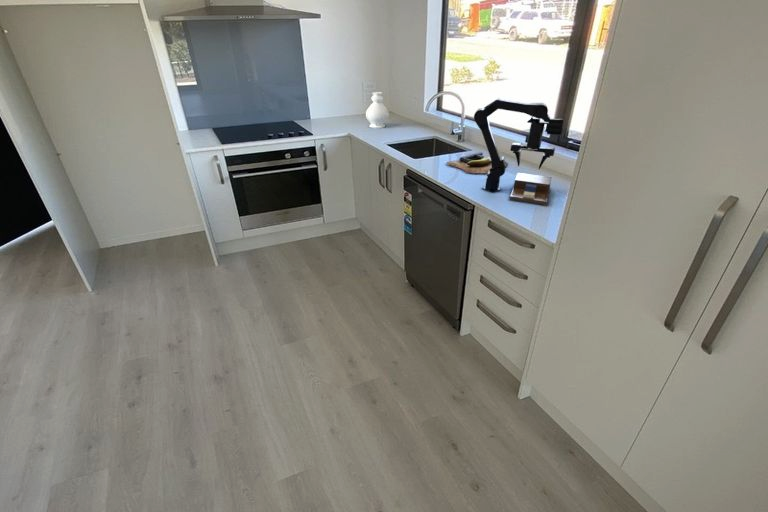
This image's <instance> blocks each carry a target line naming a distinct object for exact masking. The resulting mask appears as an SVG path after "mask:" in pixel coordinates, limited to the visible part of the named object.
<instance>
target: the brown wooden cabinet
mask: <svg viewBox="0 0 768 512" xmlns="http://www.w3.org/2000/svg"><path fill="white" fill-rule="evenodd" d="M526 184H532V185H537V186H536V191H535V195H534V198H527V197H523V195H524V192H525V187H526ZM551 184H552V176H547V175H539V174H531V173H523V172H517V174H516V177H515V179H514V182H513V188H512V191H511V193H510V195H509V201H511V202H519V203H526V204H532V205H537V206H543V207H545V206H547V203H548V197H549V192H550V188H551Z"/></svg>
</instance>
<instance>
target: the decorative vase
mask: <svg viewBox="0 0 768 512" xmlns="http://www.w3.org/2000/svg"><path fill="white" fill-rule="evenodd" d="M370 98H371V101H372V103H371V104H370V105H369V106H368V107H367V108H366V111H365V117H366V119H367V121H368V122H369V123H370V124H369V128H371V129H383V128H385V127H386V125H385V122H386V121H387V120H388V119H389V116H390V115H389V110H388V108H387V107H386V106H385V104H384V103H383V100H384V97H383V92H381V91H375V92H374V91H373V92H372V96H371V97H370Z"/></svg>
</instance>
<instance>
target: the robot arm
mask: <svg viewBox="0 0 768 512" xmlns="http://www.w3.org/2000/svg"><path fill="white" fill-rule="evenodd" d="M498 110H504V111H509V112H514V113H515V112H516V113H522V114H526V115H528V116H530V118H528V119H527V120H526V122H527V124H530V127H529V132H528V134H526V136H525V140H524V143H526V145H522V143H521V142H513V143H511V146H510V152H512V153H513V154H515V158H516V162H517V167H520V164H521V154H522V151H529V152H536V153H537V152H538V153H543V154H542V157H541V160H540V163H539V166H538V170H540V169H541V168H542V166H543V164H544V162H545V161H546V160H547V159H548V158H551V157H554V156H555V151H556V147H555V146H547V145H545V147H541V145H542V138H543V134H544V132H545V133H546V135H549V136H550V135H552V136H561V135H562V132H563V125H564V118H551V116H550V115H549V114H548V113H549V109H548V105H547V104H546V103H544V102H528V103H527V102H520V101H513V100H507V99H501V98H495V99H494V100H493V101H492V102H490V103H489V104H487V105H485V106H484V107H479V108H478V109H476V111H475V112H474V115H473V120H474V122H475V123H476V126H477V127H478V128H479V130H480V131H481V134H482V137H483V140H484V143H485V145H486V149H487V152H488V155H489V157H491V165H492V168H491V169H489V170H488V173H486V174H487V175H486V180H485V186H483V187H482V190H484V191H487V192H490V193H495V192H498V191H501V190H502V188H501V187H500V181H501V177H502V176H503V175H505V173H506V169H507V165H506V163H505V162H506V160H505V156H502V157H501V155H500V153H499V151H498V148H497V145H496V142H495V140H494V139H495V138H494V136H493V132H492V129H491V127H490V117H489V116H491V115H493V114H494V113H495V112H496V111H498Z"/></svg>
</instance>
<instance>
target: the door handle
mask: <svg viewBox="0 0 768 512" xmlns="http://www.w3.org/2000/svg"><path fill="white" fill-rule="evenodd" d="M484 157H485V156H484V153H483V152H482V151H477V152H475V153H471V154H468V155H464V156H460V157H459V158H458V160H459V161H460V162H464V163H468V162H470V161H474V160H481V159H485V158H484ZM489 163H491V160H490V162H489Z"/></svg>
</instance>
